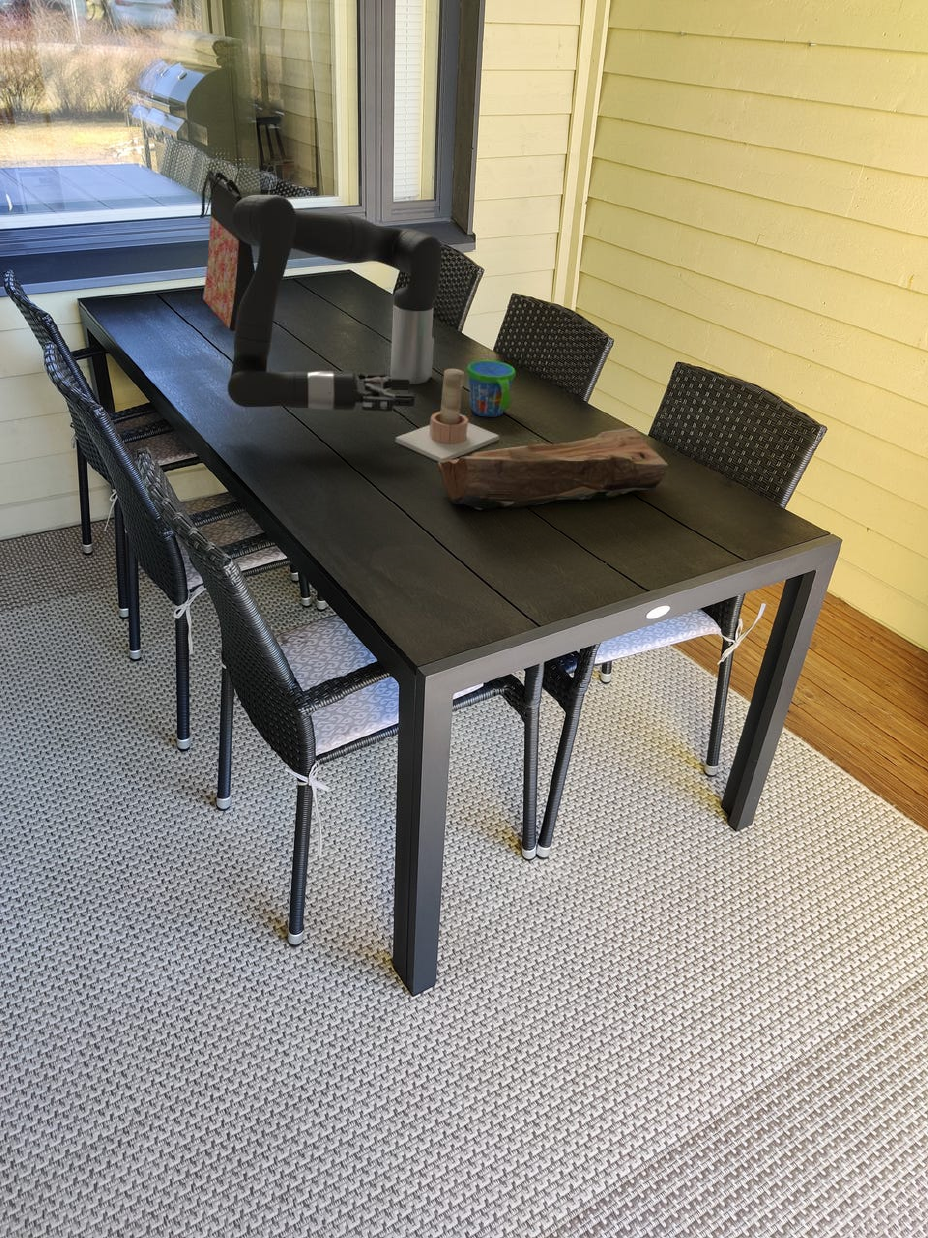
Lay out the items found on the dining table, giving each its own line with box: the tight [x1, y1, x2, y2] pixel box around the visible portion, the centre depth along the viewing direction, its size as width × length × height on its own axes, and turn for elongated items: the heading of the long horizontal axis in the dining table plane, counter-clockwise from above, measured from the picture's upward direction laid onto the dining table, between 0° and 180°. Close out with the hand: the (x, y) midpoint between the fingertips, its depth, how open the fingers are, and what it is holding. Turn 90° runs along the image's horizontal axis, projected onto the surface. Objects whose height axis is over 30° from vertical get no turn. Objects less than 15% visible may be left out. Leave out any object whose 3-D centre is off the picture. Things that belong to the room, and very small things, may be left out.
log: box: [437, 427, 669, 511], centre depth 187 cm, size 42×18×15 cm, turn 109°
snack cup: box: [466, 359, 517, 418], centre depth 218 cm, size 16×10×10 cm
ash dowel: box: [439, 368, 465, 425], centre depth 201 cm, size 4×4×14 cm
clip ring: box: [429, 411, 469, 444], centre depth 204 cm, size 8×8×4 cm
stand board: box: [395, 422, 500, 463], centre depth 206 cm, size 18×13×1 cm
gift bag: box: [199, 170, 256, 330], centre depth 251 cm, size 29×14×35 cm, turn 27°
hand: (411, 392), depth 198 cm, fingers open, 8 cm apart
